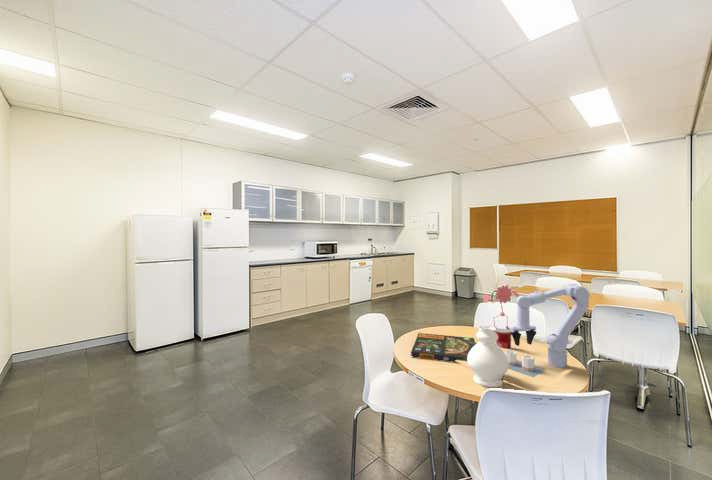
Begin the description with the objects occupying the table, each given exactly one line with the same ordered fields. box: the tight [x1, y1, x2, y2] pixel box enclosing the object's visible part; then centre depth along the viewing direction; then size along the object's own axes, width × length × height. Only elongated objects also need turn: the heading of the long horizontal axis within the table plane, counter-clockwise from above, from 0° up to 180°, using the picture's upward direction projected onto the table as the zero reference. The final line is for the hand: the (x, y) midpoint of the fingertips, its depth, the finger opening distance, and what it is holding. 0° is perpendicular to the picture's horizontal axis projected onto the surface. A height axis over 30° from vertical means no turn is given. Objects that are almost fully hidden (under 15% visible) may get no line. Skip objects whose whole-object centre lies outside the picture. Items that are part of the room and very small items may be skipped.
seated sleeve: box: [504, 349, 518, 366], centre depth 156 cm, size 5×5×6 cm
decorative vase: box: [466, 324, 509, 388], centre depth 140 cm, size 18×18×25 cm
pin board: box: [508, 359, 547, 378], centre depth 152 cm, size 14×19×4 cm
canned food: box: [495, 328, 512, 350], centre depth 181 cm, size 8×8×11 cm
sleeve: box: [521, 354, 535, 371], centre depth 149 cm, size 5×5×6 cm
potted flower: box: [482, 284, 520, 336], centre depth 201 cm, size 15×26×35 cm, turn 98°
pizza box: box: [410, 332, 476, 363], centre depth 180 cm, size 35×35×4 cm
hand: (523, 344), depth 158 cm, fingers open, 7 cm apart
